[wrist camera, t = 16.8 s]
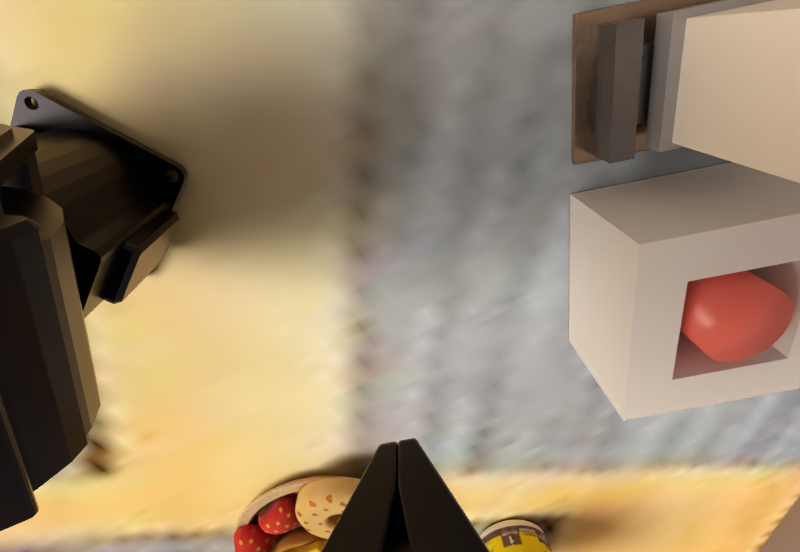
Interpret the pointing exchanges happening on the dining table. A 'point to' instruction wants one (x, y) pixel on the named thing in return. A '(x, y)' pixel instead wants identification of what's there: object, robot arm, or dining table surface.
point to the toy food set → (294, 515)
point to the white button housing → (679, 283)
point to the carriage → (729, 83)
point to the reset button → (734, 315)
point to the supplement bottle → (515, 537)
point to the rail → (614, 78)
